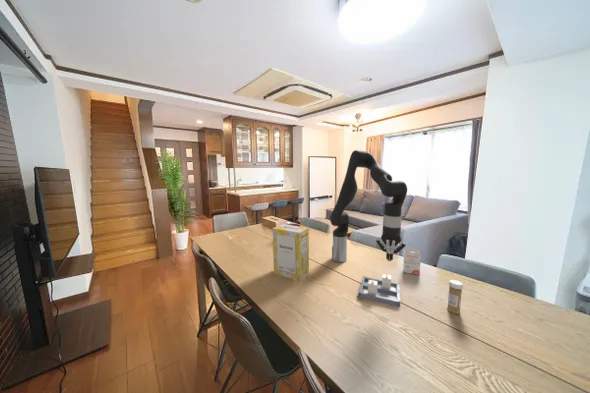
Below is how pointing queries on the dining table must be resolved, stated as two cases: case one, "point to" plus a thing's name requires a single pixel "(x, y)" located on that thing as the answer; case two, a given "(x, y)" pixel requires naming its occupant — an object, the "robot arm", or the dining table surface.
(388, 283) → the tab far
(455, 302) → the sprinkles bottle
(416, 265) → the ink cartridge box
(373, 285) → the tab near
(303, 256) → the pasta box
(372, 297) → the switch bank
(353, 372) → the dining table surface
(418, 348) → the dining table surface
